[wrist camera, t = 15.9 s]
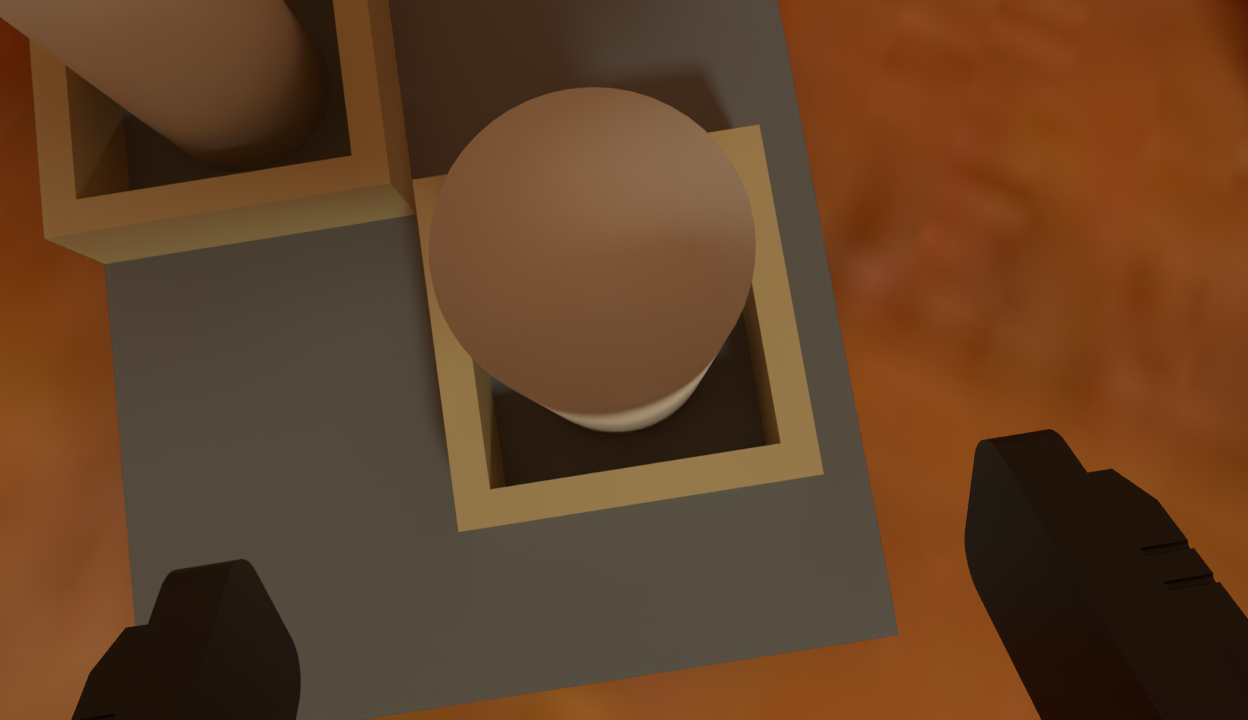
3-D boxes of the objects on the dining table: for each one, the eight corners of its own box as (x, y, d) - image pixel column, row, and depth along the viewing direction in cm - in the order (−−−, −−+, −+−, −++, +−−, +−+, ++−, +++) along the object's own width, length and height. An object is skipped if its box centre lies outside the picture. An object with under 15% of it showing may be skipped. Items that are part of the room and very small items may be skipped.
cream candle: (541, 446, 24) (449, 431, 13) (517, 271, 24) (410, 113, 13) (719, 420, 24) (779, 382, 13) (692, 245, 24) (728, 65, 13)
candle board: (170, 740, 24) (-306, 988, 12) (105, -5, 27) (-336, -410, 15) (886, 627, 24) (1125, 763, 12) (747, -108, 27) (829, -598, 15)
